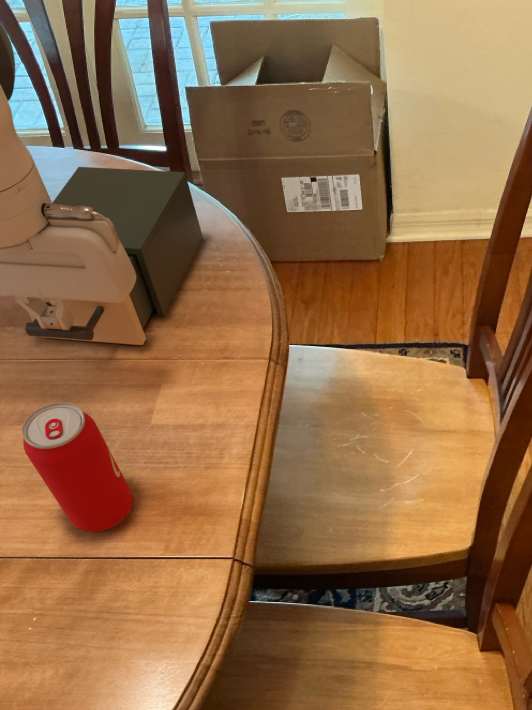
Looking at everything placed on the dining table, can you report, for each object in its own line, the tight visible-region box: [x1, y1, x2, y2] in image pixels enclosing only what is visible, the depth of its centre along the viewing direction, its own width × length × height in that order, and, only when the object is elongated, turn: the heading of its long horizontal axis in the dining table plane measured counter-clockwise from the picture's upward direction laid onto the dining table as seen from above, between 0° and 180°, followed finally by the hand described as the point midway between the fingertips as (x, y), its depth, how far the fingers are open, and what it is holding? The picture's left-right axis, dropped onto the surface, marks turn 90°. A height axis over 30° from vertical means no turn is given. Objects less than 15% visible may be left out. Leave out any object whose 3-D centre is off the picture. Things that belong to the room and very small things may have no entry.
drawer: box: [24, 254, 155, 346], centre depth 87 cm, size 19×12×8 cm, turn 172°
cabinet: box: [52, 166, 204, 317], centre depth 92 cm, size 16×14×10 cm
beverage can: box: [21, 401, 134, 533], centre depth 70 cm, size 6×6×12 cm
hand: (58, 325), depth 81 cm, fingers closed, pressing on drawer
